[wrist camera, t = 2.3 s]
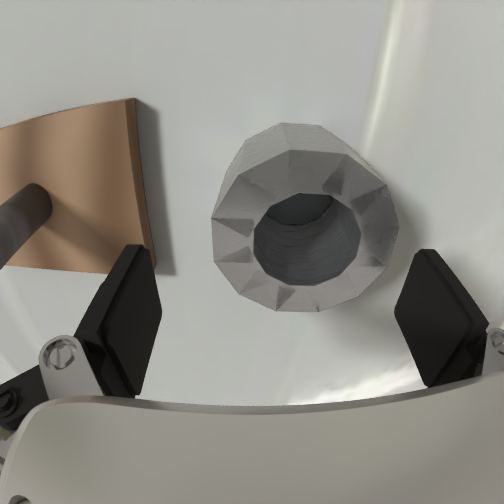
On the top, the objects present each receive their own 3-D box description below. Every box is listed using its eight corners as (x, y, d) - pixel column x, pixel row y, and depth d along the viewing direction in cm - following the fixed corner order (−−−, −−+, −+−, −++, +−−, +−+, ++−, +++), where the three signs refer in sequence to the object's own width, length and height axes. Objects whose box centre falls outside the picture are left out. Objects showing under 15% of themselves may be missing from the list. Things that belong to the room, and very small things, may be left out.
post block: (134, 97, 12) (63, 122, 7) (156, 264, 18) (123, 341, 13) (-28, 139, 13) (-89, 175, 8) (6, 255, 18) (-36, 306, 13)
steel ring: (370, 131, 13) (414, 163, 9) (348, 250, 17) (371, 311, 13) (225, 121, 13) (208, 147, 9) (227, 246, 17) (217, 309, 13)
